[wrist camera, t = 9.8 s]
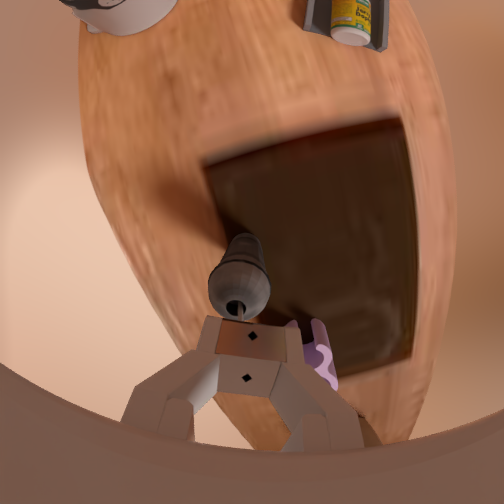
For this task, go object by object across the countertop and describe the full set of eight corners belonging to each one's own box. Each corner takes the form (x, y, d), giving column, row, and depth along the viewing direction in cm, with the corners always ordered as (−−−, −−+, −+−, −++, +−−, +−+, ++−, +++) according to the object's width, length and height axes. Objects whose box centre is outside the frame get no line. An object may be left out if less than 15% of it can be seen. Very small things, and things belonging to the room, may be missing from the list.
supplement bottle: (343, 47, 28) (345, -2, 24) (377, 47, 25) (377, -4, 21) (321, 32, 25) (324, -18, 21) (358, 30, 21) (358, -23, 17)
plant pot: (333, 438, 68) (339, 479, 54) (324, 420, 62) (331, 469, 48) (378, 424, 65) (389, 465, 51) (376, 404, 59) (389, 452, 45)
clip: (269, 321, 48) (269, 348, 41) (338, 315, 47) (346, 341, 40) (274, 387, 56) (274, 411, 50) (328, 382, 55) (333, 406, 49)
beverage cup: (246, 213, 39) (229, 290, 21) (280, 247, 41) (289, 340, 23) (212, 245, 42) (175, 334, 23) (245, 276, 44) (232, 374, 25)
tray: (380, 52, 27) (387, 48, 25) (302, 30, 27) (305, 24, 25) (383, -9, 22) (389, -15, 20) (311, -31, 22) (313, -38, 19)
